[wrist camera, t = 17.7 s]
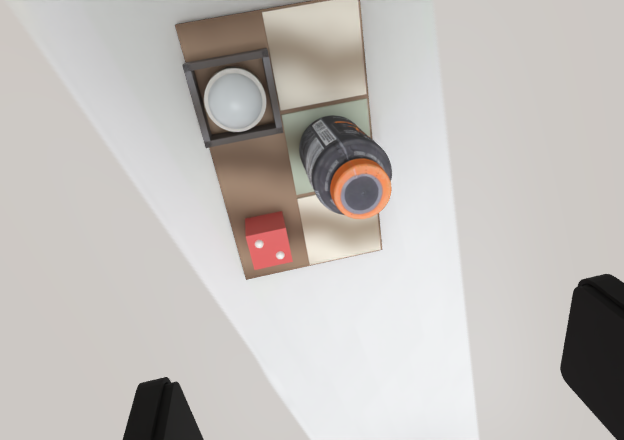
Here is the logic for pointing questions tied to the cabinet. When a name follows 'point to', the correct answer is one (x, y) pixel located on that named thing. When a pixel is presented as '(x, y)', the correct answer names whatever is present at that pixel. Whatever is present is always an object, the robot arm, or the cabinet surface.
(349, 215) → the pill bottle
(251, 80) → the dome
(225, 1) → the cabinet surface
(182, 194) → the cabinet surface
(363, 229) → the game board
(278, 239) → the red die
